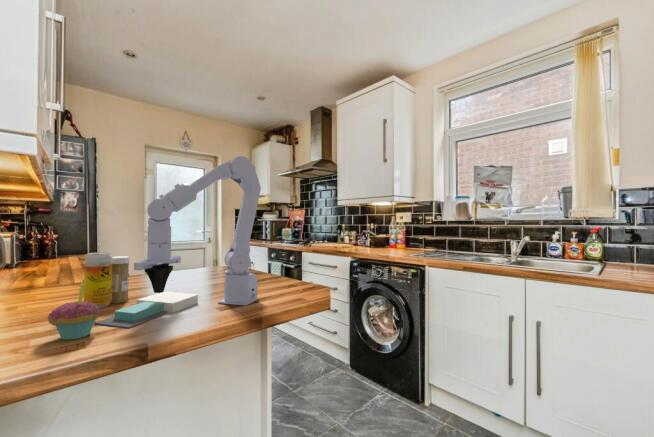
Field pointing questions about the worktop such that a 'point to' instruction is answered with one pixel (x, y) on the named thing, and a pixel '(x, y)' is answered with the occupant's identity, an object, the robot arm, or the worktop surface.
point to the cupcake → (75, 317)
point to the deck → (172, 300)
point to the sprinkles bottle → (119, 279)
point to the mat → (128, 324)
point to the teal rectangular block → (138, 311)
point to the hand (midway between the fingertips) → (158, 292)
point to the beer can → (98, 278)
